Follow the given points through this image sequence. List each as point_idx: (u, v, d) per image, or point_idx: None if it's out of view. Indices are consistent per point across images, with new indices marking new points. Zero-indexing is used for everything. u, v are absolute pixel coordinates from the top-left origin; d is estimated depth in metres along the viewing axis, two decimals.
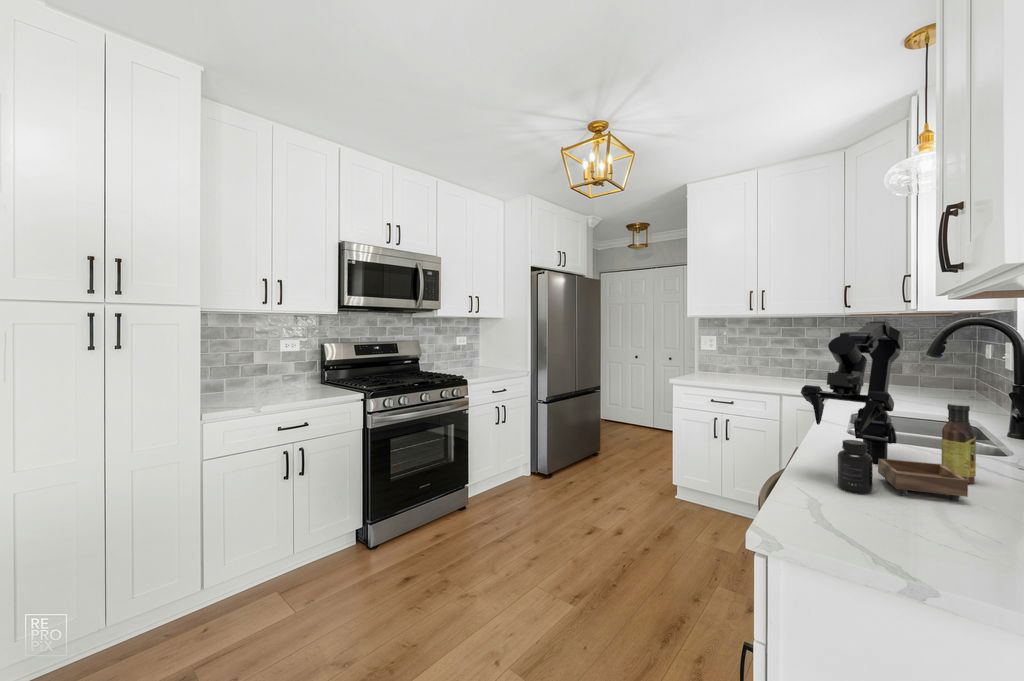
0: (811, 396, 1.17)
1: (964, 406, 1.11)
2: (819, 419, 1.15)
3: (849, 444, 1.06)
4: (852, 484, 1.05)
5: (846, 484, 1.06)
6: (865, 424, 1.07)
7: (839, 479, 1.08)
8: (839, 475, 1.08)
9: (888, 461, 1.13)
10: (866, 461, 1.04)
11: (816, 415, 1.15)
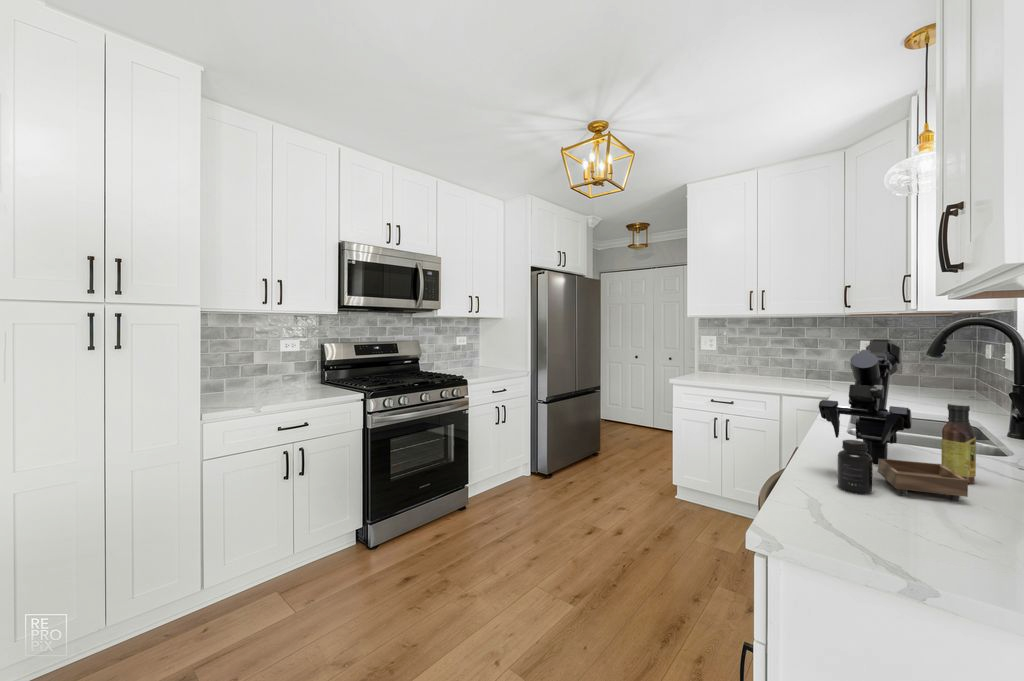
0: (830, 409, 1.17)
1: (964, 406, 1.11)
2: (838, 432, 1.15)
3: (849, 444, 1.06)
4: (852, 484, 1.05)
5: (846, 484, 1.06)
6: (886, 437, 1.08)
7: (839, 479, 1.08)
8: (839, 475, 1.08)
9: (888, 461, 1.13)
10: (866, 461, 1.04)
11: (835, 428, 1.15)
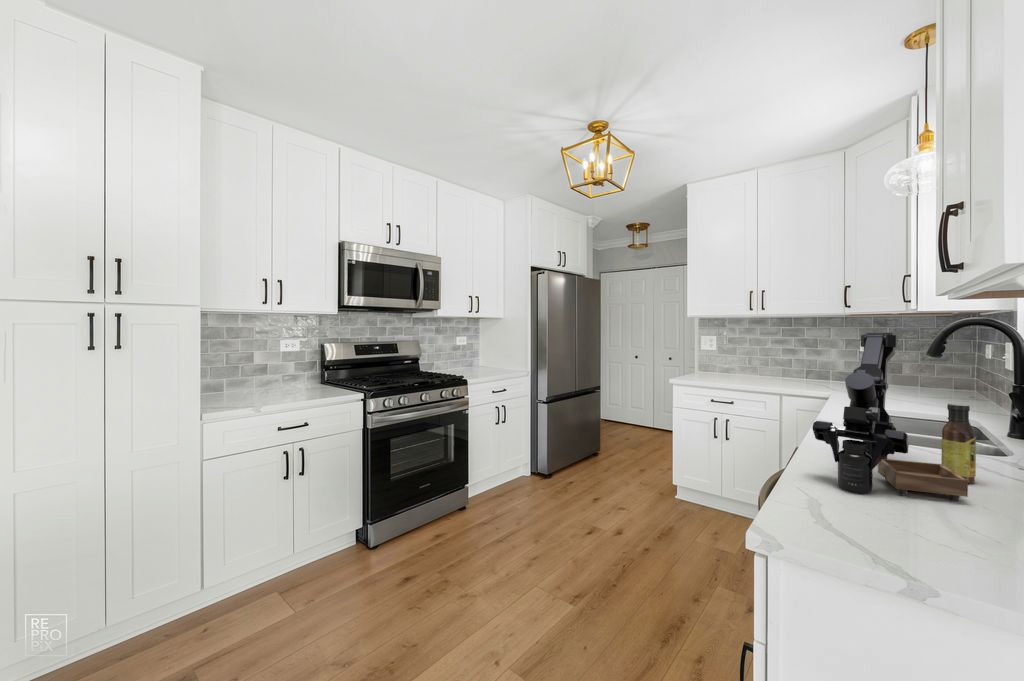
0: (829, 432, 1.12)
1: (964, 406, 1.11)
2: (837, 456, 1.10)
3: (849, 444, 1.06)
4: (852, 484, 1.05)
5: (846, 484, 1.06)
6: (876, 462, 1.04)
7: (839, 479, 1.08)
8: (839, 475, 1.08)
9: (888, 461, 1.13)
10: (866, 461, 1.04)
11: (834, 452, 1.10)
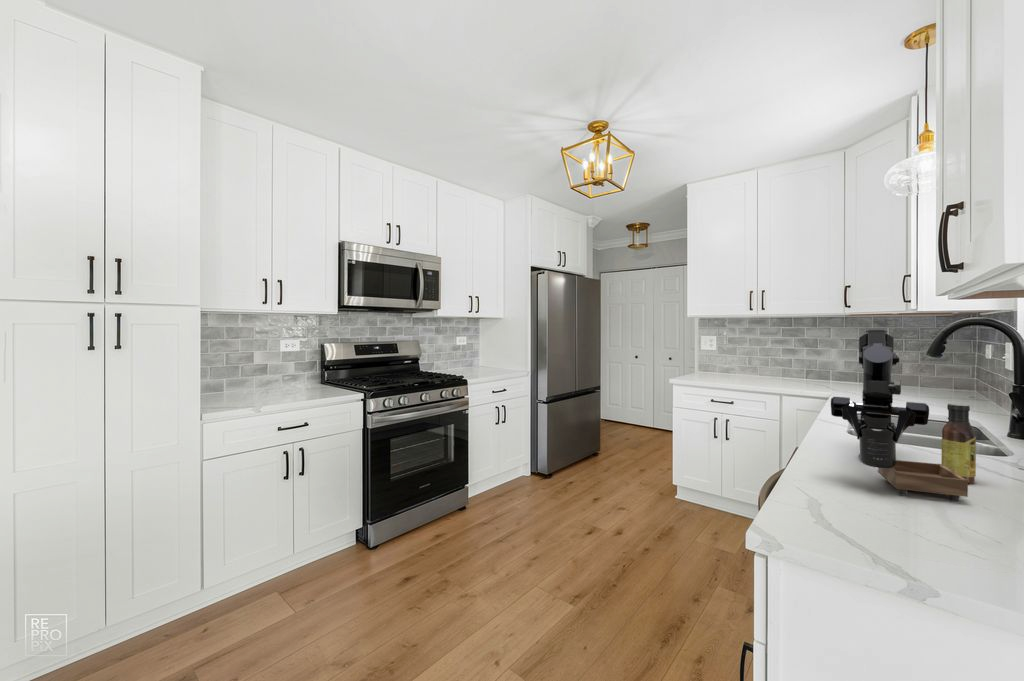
0: (849, 407, 1.10)
1: (964, 406, 1.11)
2: (859, 431, 1.08)
3: (873, 418, 1.05)
4: (877, 459, 1.04)
5: (871, 459, 1.05)
6: (900, 435, 1.03)
7: (863, 454, 1.07)
8: (863, 450, 1.07)
9: None
10: (891, 435, 1.03)
11: (856, 427, 1.08)
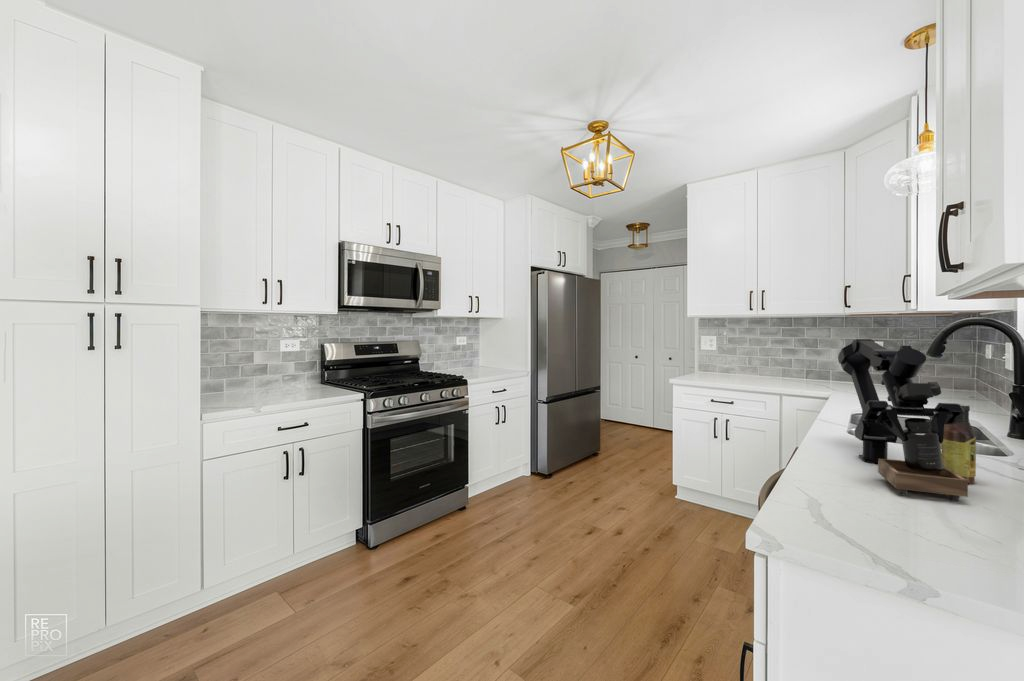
0: (890, 411, 1.09)
1: (964, 406, 1.11)
2: None
3: (919, 423, 1.04)
4: (931, 463, 1.03)
5: (924, 464, 1.03)
6: None
7: (913, 461, 1.05)
8: (912, 457, 1.05)
9: (888, 461, 1.13)
10: (938, 437, 1.03)
11: (900, 431, 1.07)
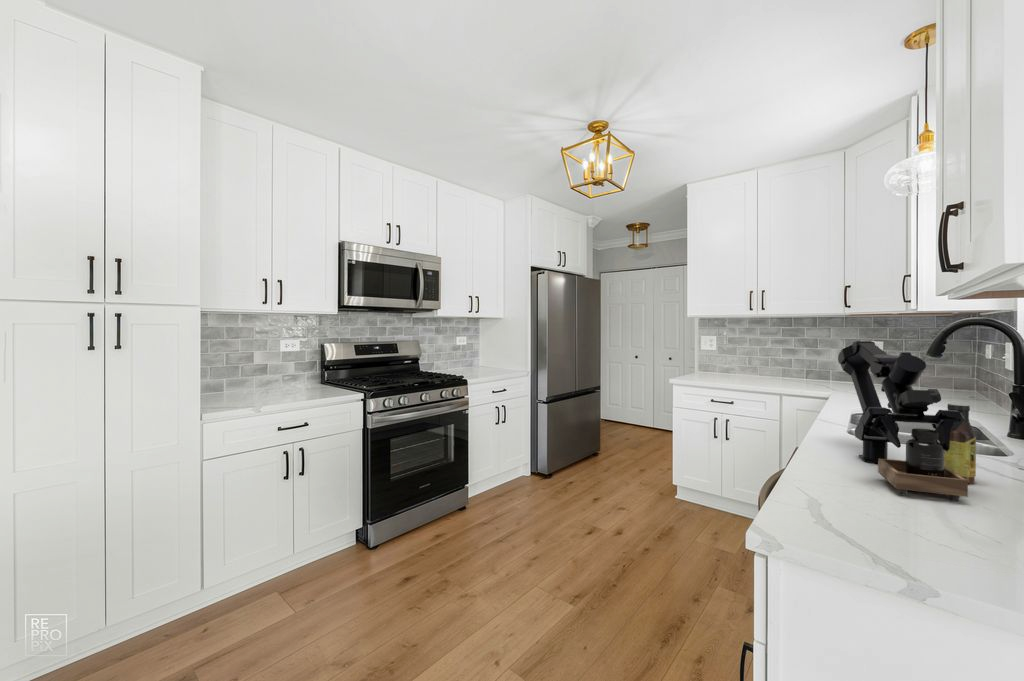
0: (885, 417, 1.09)
1: (964, 406, 1.11)
2: None
3: (926, 433, 1.04)
4: (932, 474, 1.03)
5: (926, 475, 1.03)
6: None
7: (914, 470, 1.05)
8: (915, 466, 1.05)
9: (888, 461, 1.13)
10: (943, 449, 1.03)
11: (895, 437, 1.07)
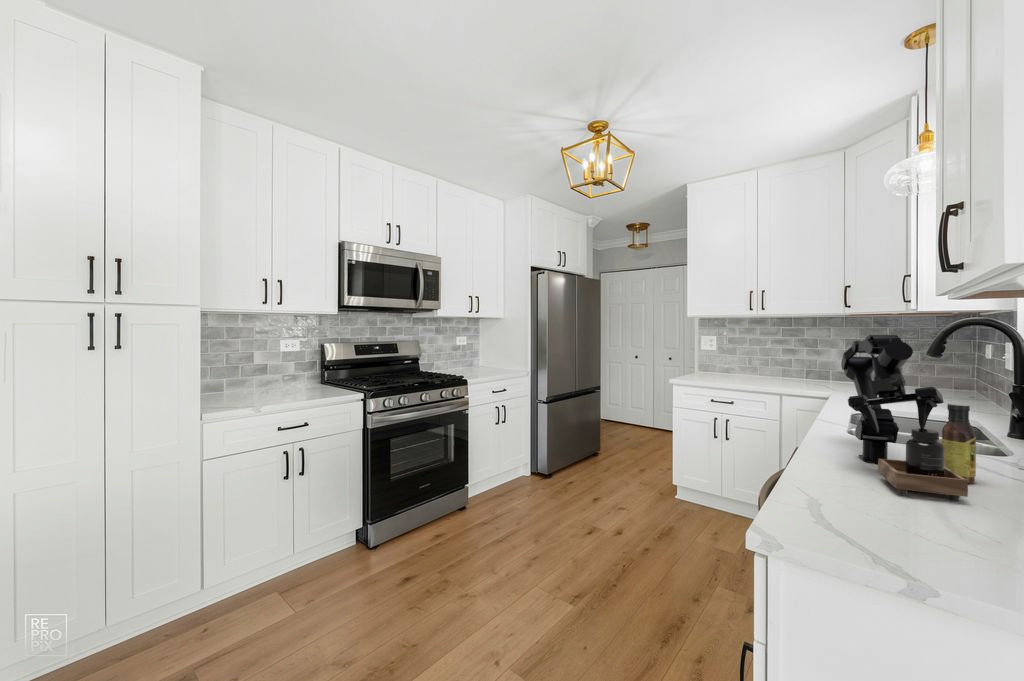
0: (860, 406, 1.20)
1: (964, 406, 1.11)
2: (877, 427, 1.17)
3: (926, 433, 1.04)
4: (932, 474, 1.03)
5: (926, 475, 1.03)
6: (924, 422, 1.10)
7: (914, 470, 1.05)
8: (915, 466, 1.05)
9: (888, 461, 1.13)
10: (943, 449, 1.03)
11: (872, 424, 1.18)
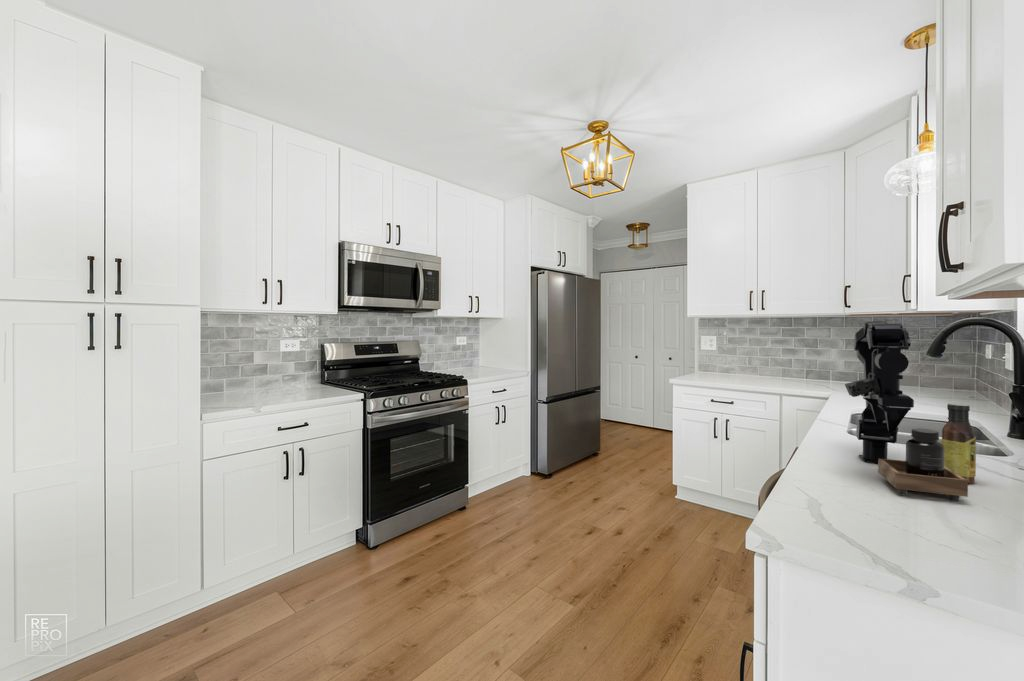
0: None
1: (964, 406, 1.11)
2: (878, 419, 1.21)
3: (926, 433, 1.04)
4: (932, 474, 1.03)
5: (926, 475, 1.03)
6: (891, 425, 1.12)
7: (914, 470, 1.05)
8: (915, 466, 1.05)
9: (888, 461, 1.13)
10: (943, 449, 1.03)
11: (874, 416, 1.21)
